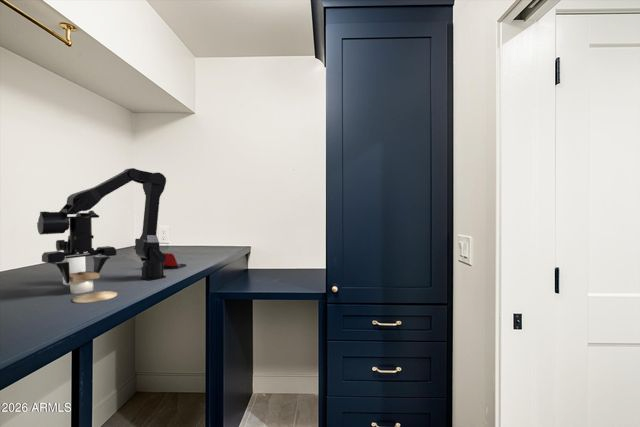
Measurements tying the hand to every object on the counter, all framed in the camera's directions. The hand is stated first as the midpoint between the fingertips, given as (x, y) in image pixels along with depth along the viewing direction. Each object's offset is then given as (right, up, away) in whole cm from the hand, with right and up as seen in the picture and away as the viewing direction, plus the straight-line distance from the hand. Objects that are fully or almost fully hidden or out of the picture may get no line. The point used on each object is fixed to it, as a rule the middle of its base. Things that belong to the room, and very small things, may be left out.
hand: (81, 280), depth 105 cm
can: (-10, -3, +10) cm, 15 cm away
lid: (0, +1, 0) cm, 1 cm away
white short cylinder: (0, -3, 0) cm, 3 cm away
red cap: (+9, -3, +39) cm, 40 cm away
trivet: (+9, -3, -7) cm, 12 cm away
